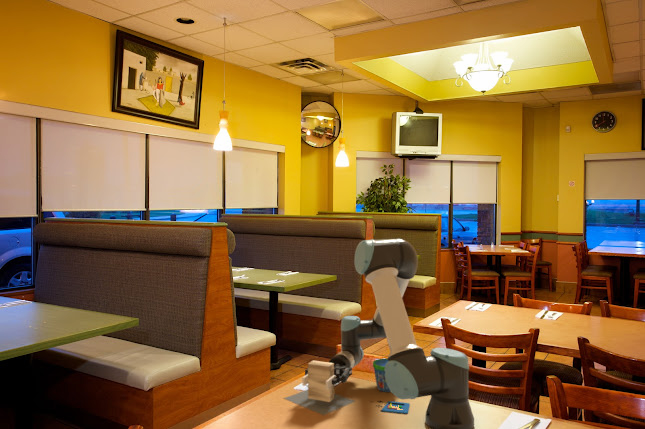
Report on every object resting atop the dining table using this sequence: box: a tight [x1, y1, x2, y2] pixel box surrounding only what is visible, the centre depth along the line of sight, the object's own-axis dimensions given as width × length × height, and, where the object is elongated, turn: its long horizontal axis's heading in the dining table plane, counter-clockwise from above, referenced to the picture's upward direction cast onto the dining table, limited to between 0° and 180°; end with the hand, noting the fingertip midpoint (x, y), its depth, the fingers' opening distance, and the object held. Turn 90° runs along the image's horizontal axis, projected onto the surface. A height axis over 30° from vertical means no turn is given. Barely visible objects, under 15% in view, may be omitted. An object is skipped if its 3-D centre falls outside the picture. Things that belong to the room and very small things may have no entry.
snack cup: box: [372, 358, 392, 393], centre depth 190 cm, size 16×10×10 cm
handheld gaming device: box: [370, 400, 410, 415], centre depth 174 cm, size 8×1×15 cm
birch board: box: [307, 360, 335, 402], centre depth 174 cm, size 4×8×12 cm, turn 65°
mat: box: [283, 389, 356, 416], centre depth 179 cm, size 20×16×1 cm
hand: (315, 383), depth 170 cm, fingers closed on birch board, 8 cm apart
